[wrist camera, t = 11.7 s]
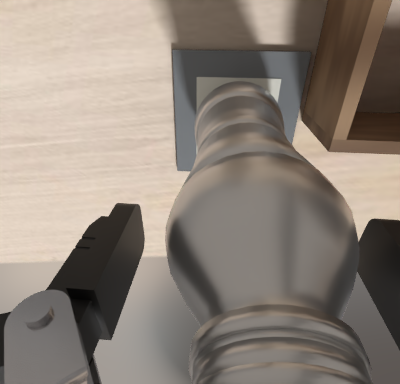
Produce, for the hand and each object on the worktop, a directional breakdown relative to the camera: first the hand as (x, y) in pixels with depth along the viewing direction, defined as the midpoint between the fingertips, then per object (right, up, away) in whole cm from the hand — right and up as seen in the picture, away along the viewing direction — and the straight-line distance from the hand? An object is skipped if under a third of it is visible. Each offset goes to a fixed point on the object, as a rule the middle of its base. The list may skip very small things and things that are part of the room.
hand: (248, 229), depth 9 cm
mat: (+1, +8, +12) cm, 15 cm away
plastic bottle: (+1, +7, +12) cm, 14 cm away
